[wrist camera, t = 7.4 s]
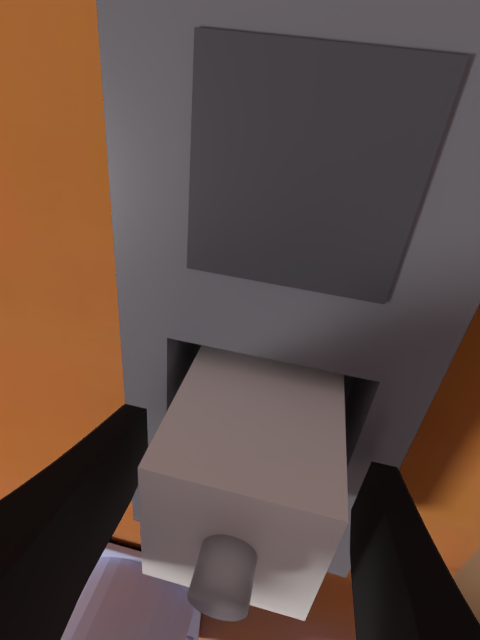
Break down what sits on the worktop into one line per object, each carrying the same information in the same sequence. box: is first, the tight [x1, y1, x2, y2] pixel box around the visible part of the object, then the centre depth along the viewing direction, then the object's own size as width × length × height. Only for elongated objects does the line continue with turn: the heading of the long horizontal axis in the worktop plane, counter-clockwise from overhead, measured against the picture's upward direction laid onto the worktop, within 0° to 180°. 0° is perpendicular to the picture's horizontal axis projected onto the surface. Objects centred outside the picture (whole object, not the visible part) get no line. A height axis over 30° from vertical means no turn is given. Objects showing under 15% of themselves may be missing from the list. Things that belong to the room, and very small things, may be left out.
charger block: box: [138, 345, 349, 621], centre depth 10 cm, size 4×4×7 cm
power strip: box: [96, 0, 480, 578], centre depth 10 cm, size 20×8×4 cm, turn 174°
